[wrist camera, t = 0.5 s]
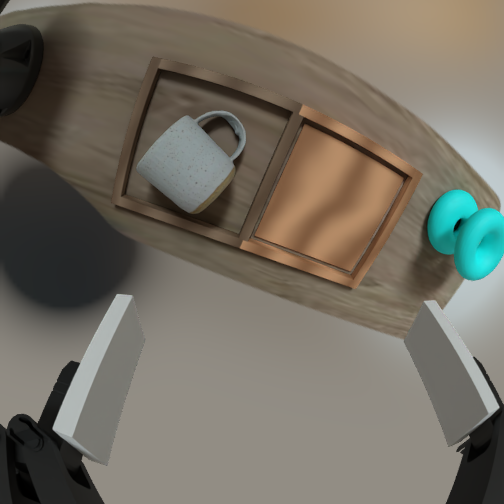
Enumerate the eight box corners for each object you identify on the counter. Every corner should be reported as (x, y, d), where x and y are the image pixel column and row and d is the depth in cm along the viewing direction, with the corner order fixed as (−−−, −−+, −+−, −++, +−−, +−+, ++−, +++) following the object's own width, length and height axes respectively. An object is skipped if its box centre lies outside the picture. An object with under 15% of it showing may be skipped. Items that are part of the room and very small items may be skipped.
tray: (114, 199, 32) (110, 202, 31) (155, 58, 24) (152, 56, 23) (353, 284, 38) (355, 289, 37) (418, 171, 30) (422, 174, 29)
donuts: (494, 198, 21) (518, 237, 23) (448, 173, 30) (478, 209, 32) (450, 267, 25) (480, 294, 27) (412, 230, 34) (446, 258, 36)
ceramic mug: (199, 205, 33) (186, 231, 26) (149, 161, 30) (123, 176, 23) (263, 143, 29) (267, 152, 22) (211, 94, 26) (199, 87, 20)
